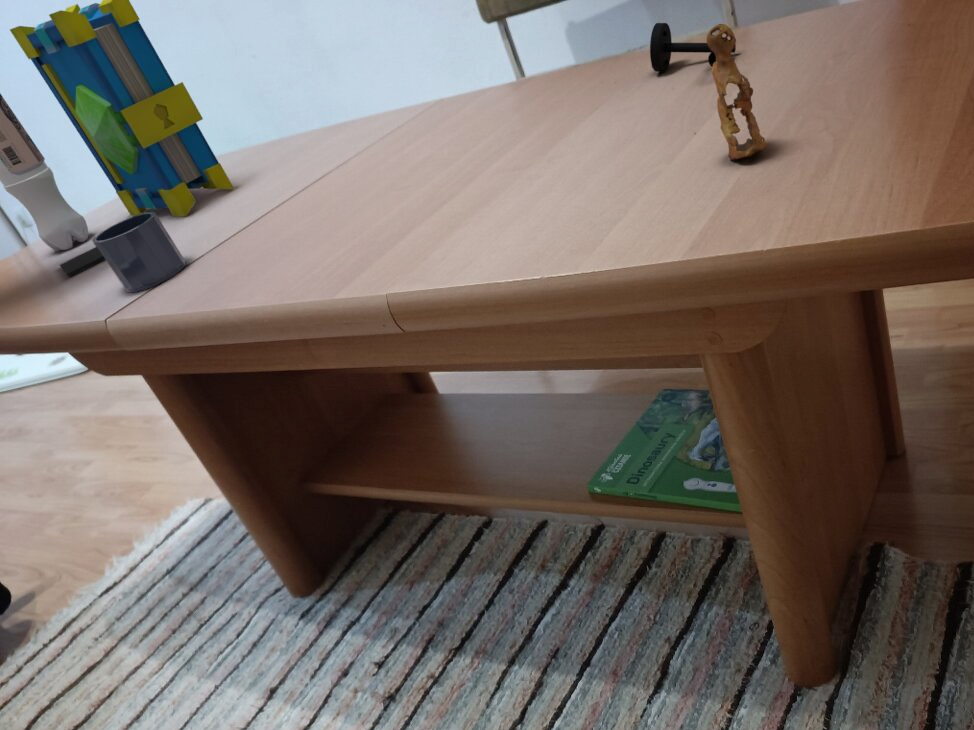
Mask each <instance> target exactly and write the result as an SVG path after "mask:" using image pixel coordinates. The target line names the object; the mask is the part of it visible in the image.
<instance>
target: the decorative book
mask: <svg viewBox="0 0 974 730" xmlns="http://www.w3.org/2000/svg"><path fill="white" fill-rule="evenodd" d="M48 16H49V18H50V19H49V20H47V21H44V22H42V23H39V24H37V25H36V26H24V25H18V26H15V27H12V28H10V29H9V31H10V32H11V34H12V36H13V37H14V39H15V40H16V42H17V44H18V45H19V47H20V48H21V49H22V51H23V53H24V54H25V56H26V58H27V59H28V60H31V62H32V64H33V66H34V67H35V68H36V70H37V71H38V74H39V75H40V76H41V77H42V80H44V82H45V84H46V86H48V88H49V90H50V91H51V93H52V94H53V96H54V97H55V99H56V101H57V102H58V103H59V105H60V107H61V108H62V110H63V111H64V113H65V115H66V116H67V117H68V119H69V121H70V122H71V123H72V125H73V127H74V128H75V130H76V132H77V133H78V135H79V136H80V138H81V139H82V141H83V142H84V144H85V145H86V147H87V148H88V150H89V151H90V153H91V155H92V156H93V157H94V159H95V160H96V163H97V164H98V165H99V167H100V168H101V170H102V171H103V173H104V175H105V176H106V177H107V179H108V181H109V183H110V184H111V185H112V187H113V188H114V190H115V193H116V195H117V197H118V198H119V199H120V201H121V203H122V205H124V207H125V209H126V210H127V212H128V213H129V215H130V217H132V216H135V215H138V214H142V213H145V212H146V211H147V210H148V209H149V210H163V209H168V210H169V211H170V213H171V215H172V216H173V217H184V218H185V217H188V214H189V213H190V211H191V209H192V208H193V207H194V204H195V203H196V199H195V197H194V196H193V194H192V192H191V191H190V190H200V189H203V190H235V187H234V186H233V184H232V182H231V180H230V178H229V177H228V174H227V173H226V171H225V169H224V168H223V165H222V164H221V162H219V161H218V159H217V157H216V156H215V154H214V151H213V150H212V148H211V146H210V145H209V143H208V140H207V139H206V138H205V135H204V133H203V132H202V130H201V128H200V127H199V125H198V122H200V121H202V120H204V118H203V116H202V115H201V112H200V111H199V109H198V107H197V105H196V104H195V102H194V100H193V98H192V97H191V95H190V93H189V91H188V89H187V88H186V86H185V83H184V82H183V81H181V82H179V83H176V84H175V82H174V81H173V79H172V78H171V76H170V74H169V72H168V70H167V69H166V67H165V65H164V63H163V62H162V59H161V58H160V56H159V54H158V53H157V51H156V49H155V47H154V46H153V44H152V42H151V40H150V38H149V37H148V34H147V33H146V32H145V30H144V28H143V26H142V24H141V23H140V17H139V16H138V14H137V12H136V10H135V8H134V6H133V5H132V3H131V1H130V0H102V1H101V2H100V3H97V2H94V3H92V4H89V5H86V6H83V7H80V6H79V4H78V3H76V4H73V5H71V6H67V7H66V8H65V10H61V9H60V10H58V11H55V12H52V13H50V14H48Z"/></svg>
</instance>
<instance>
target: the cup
mask: <svg viewBox="0 0 974 730" xmlns="http://www.w3.org/2000/svg"><path fill="white" fill-rule="evenodd" d="M91 242H92V243H93V245H94V246H95V247H96V248H97V249H98V250H99V252H100V253H101V255H102V256H103V258H104V259H105V260H104V261H105V262H106V263H107V265H108V266H109V268H110V269H111V271H112V272H113V273H114V275H115V277H116V279H118V281H119V282H120V284H121V285H122V287H123V288H124V289H125V290H126V292H128V293H138V292H142V291H145V290H148V289H151V288H153V287H156V286H158V285H160V284H162V283H165V282H166V281H168V280H169V279H171V278H173V277H175V276H176V275H177V274H178V273H179V272H181V271H182V270H183V269H184V268H185V266H186V263H187V262H186V260H185V259H186V258H184V256H183V255H182V253H181V251H180V250H179V249H178V247H177V245H176V243H175V242H174V240H173V239H172V237H171V235H170V234H169V233H168V231H167V229H166V228H165V226H164V225H163V223H162V221H161V219H160V218H159V217H158V215H157V213H156V212H154V211H147V212H146V211H145V212H144V213H142V214H138V215H135V216H130V217H128V218H124V219H123V220H121V221H119V222H116V223H114V224H112V225H111V226H109V227H106V228H105V229H104V230H102V231H101V232H99V233H98V234H97V235H95V236H94V237H93V239H92V240H91Z"/></svg>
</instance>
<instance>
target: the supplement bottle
mask: <svg viewBox="0 0 974 730" xmlns="http://www.w3.org/2000/svg"><path fill="white" fill-rule="evenodd" d="M0 159H1V161H2V162H3V164H4V165H5V166H6V168H7V169H8V171H9V172H10V173H11V174H15V175H22V174H25V173H27V172H30V171H32V170H34V169H36V168H38V167H40V166H42V165H43V162H45V160H46V159H45V157H44V155H43V154H42V153H41V151H40V149H39V147H38V146H37V145H36V144H35V142H34V141H33V139H32V138H31V136H30V135H29V133H28V132H27V130H26V128H25V127H24V126H23V124H22V123H21V121H20V120H19V119H18V117H17V116H16V114H15V113H14V111H13V109H12V108H11V107H10V105H9V103H8V102H7V101H6V100H5V98H4V97H3V95H2V94H1V93H0Z"/></svg>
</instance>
